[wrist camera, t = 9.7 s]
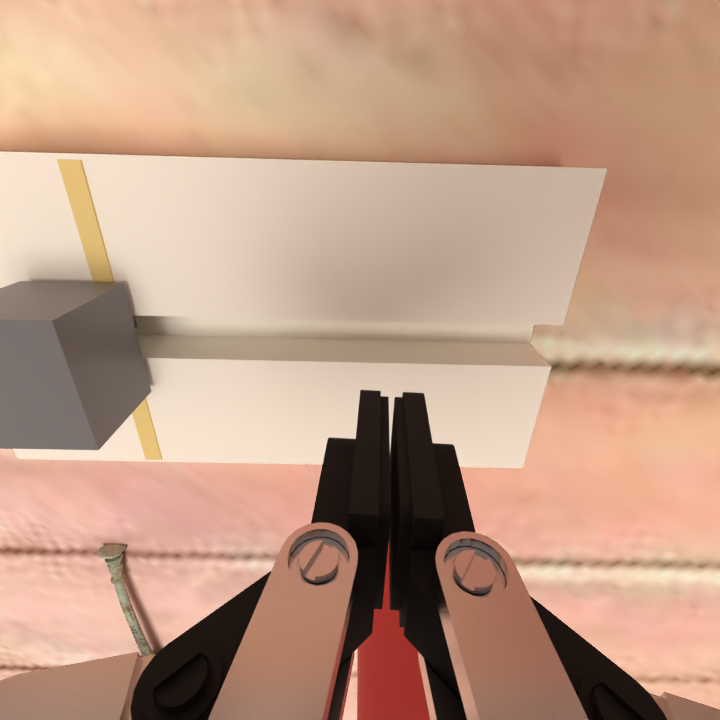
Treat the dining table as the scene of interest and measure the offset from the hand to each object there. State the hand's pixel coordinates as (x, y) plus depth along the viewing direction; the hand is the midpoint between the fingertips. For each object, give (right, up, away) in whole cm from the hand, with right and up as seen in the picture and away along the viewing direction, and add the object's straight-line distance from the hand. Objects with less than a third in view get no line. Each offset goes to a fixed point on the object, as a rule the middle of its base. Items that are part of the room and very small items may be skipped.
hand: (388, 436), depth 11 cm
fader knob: (-12, +4, +8) cm, 15 cm away
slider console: (-5, +5, +9) cm, 12 cm away
